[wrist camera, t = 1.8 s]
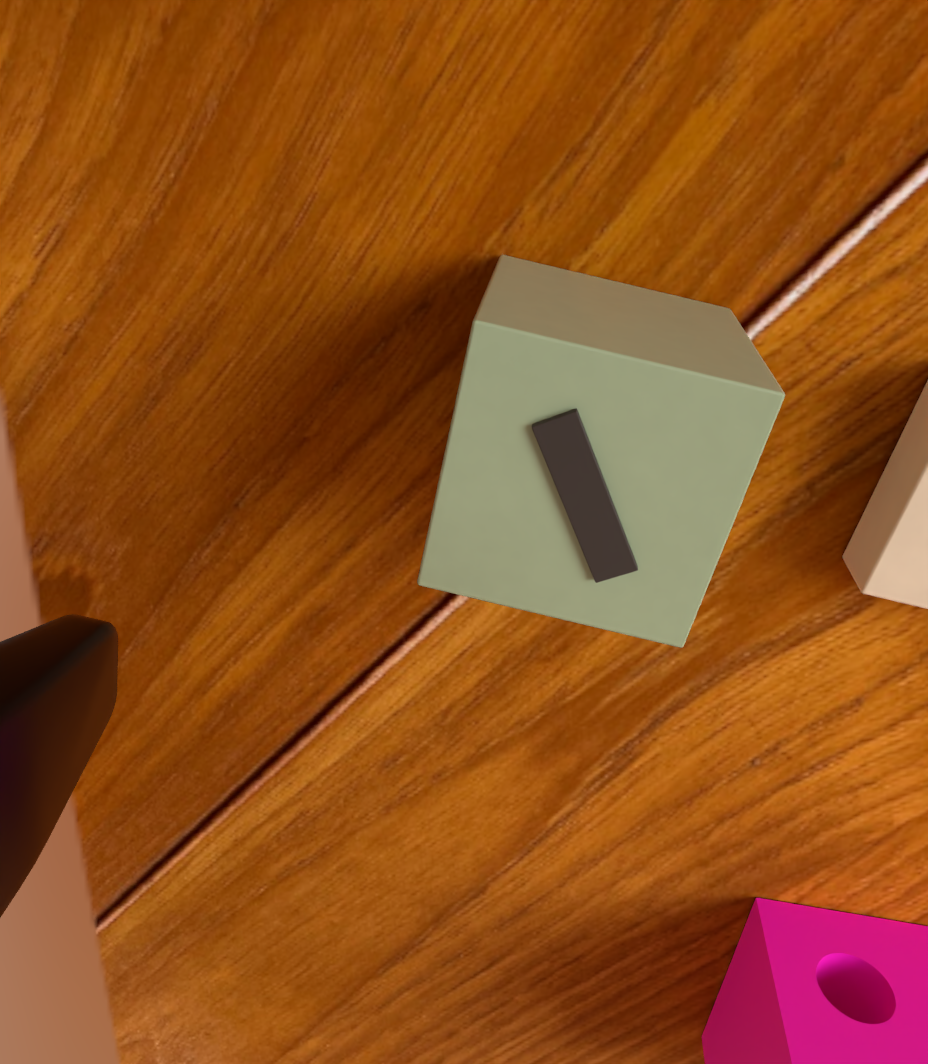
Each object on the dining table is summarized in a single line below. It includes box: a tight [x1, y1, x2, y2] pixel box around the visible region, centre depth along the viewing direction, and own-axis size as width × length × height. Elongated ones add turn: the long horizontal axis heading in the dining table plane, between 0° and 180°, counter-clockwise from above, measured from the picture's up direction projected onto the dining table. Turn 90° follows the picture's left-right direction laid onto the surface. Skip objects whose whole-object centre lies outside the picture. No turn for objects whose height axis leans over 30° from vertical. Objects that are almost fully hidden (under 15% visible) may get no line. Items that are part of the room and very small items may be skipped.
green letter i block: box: [417, 255, 785, 648], centre depth 15 cm, size 4×4×5 cm
